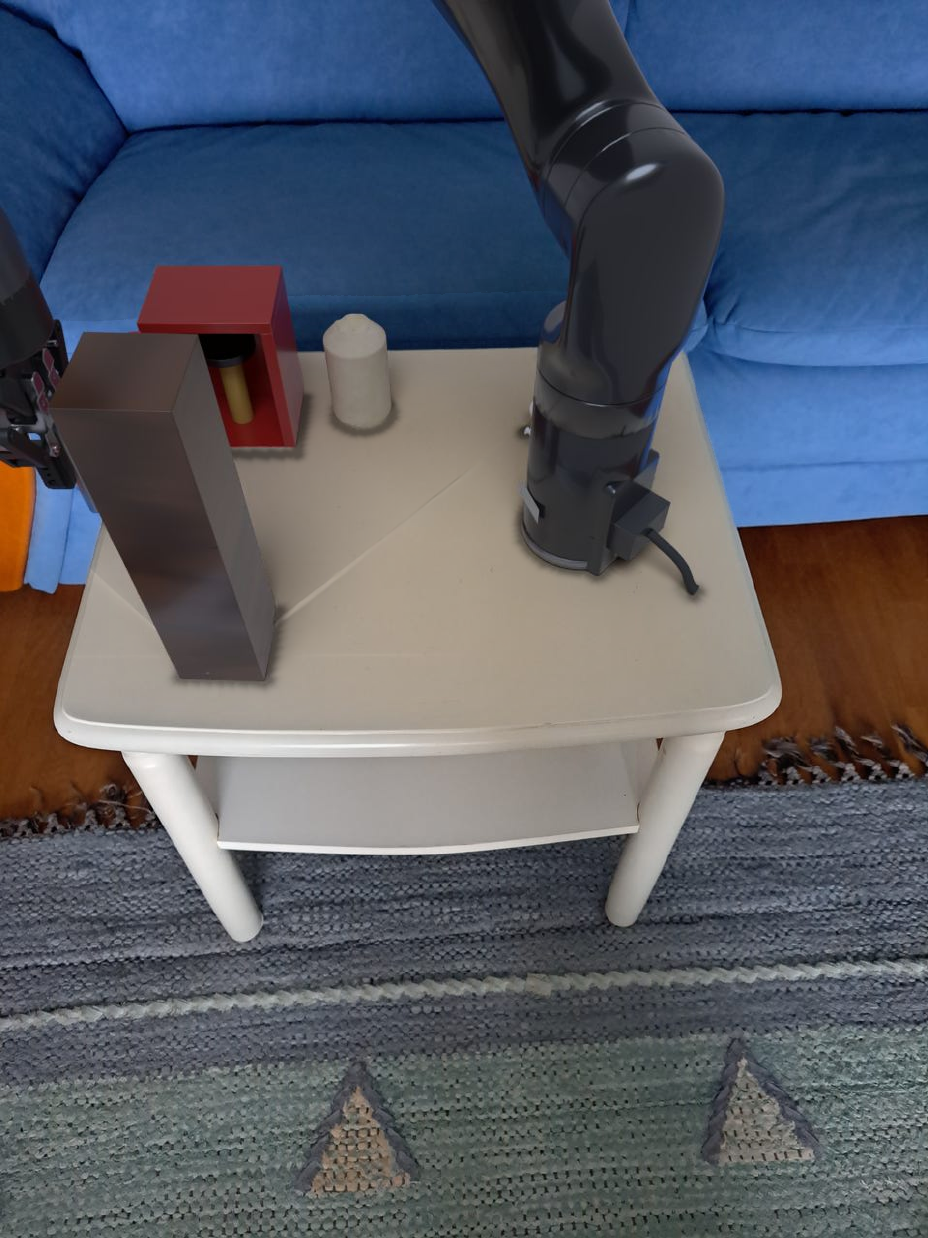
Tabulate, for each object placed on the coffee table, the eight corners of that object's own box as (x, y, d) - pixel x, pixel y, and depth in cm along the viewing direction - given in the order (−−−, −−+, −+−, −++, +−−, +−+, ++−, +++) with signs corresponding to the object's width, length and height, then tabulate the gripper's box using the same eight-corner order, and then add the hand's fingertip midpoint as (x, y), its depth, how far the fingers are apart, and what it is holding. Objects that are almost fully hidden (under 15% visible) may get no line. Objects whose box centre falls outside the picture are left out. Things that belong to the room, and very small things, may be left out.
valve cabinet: (297, 454, 79) (270, 323, 68) (182, 455, 79) (135, 323, 68) (305, 397, 84) (281, 264, 73) (196, 397, 84) (156, 264, 73)
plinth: (277, 612, 69) (198, 333, 48) (264, 681, 65) (171, 411, 44) (197, 610, 69) (83, 330, 48) (179, 678, 65) (46, 408, 44)
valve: (283, 415, 81) (267, 339, 74) (239, 444, 79) (218, 368, 72) (247, 391, 83) (228, 314, 76) (203, 418, 81) (180, 342, 74)
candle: (383, 436, 81) (375, 346, 73) (327, 428, 81) (312, 338, 73) (398, 398, 84) (391, 308, 76) (343, 390, 85) (331, 300, 77)
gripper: (-57, 214, 58) (44, 415, 72) (-140, 343, 50) (-8, 541, 64) (55, 213, 58) (134, 414, 72) (-9, 342, 50) (94, 540, 64)
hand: (67, 473), depth 68 cm, fingers closed
